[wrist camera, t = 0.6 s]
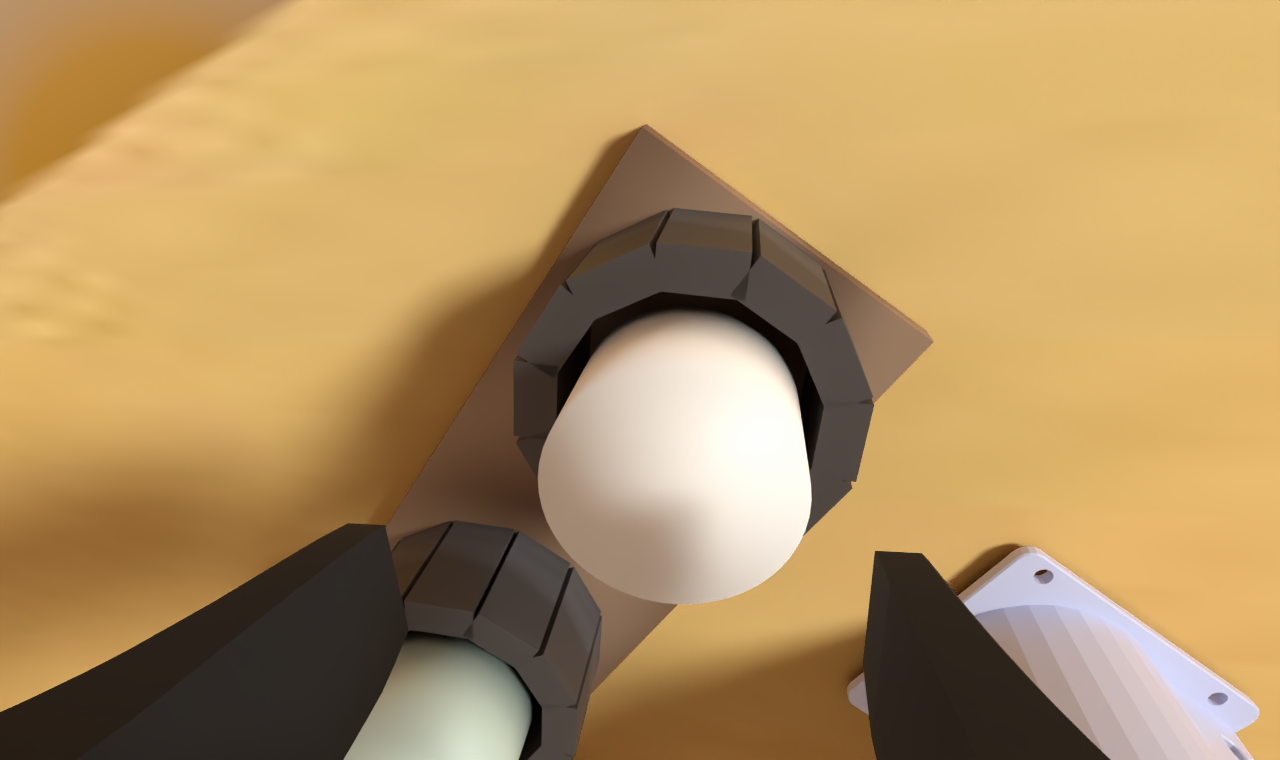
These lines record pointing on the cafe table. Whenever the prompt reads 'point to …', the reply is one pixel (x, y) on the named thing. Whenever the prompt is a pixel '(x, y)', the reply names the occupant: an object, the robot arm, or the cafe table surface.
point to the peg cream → (679, 459)
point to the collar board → (490, 407)
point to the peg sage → (447, 705)
